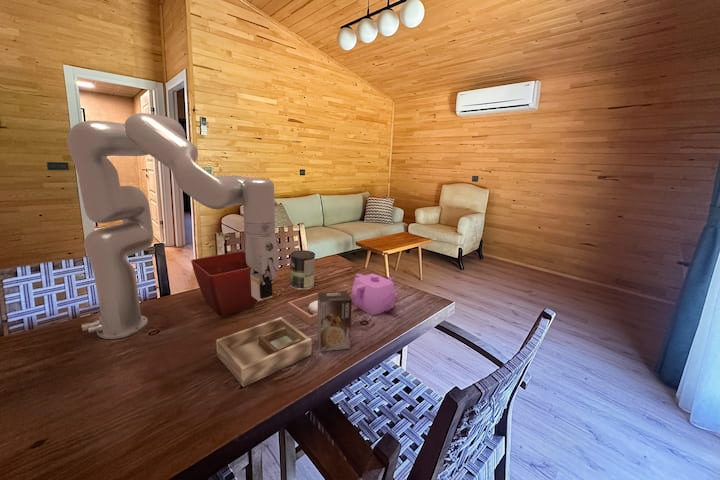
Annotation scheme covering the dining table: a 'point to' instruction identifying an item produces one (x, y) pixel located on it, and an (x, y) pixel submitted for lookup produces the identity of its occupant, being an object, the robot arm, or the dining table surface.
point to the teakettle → (373, 293)
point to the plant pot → (225, 282)
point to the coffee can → (302, 269)
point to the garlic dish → (294, 308)
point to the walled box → (262, 350)
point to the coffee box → (334, 320)
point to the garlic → (313, 307)
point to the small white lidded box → (256, 286)
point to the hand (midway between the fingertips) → (262, 293)
